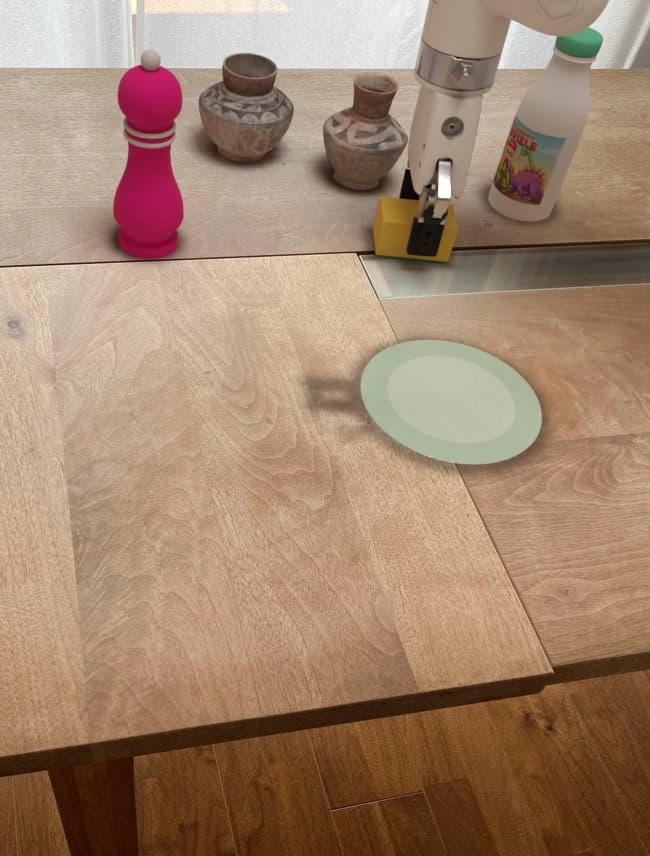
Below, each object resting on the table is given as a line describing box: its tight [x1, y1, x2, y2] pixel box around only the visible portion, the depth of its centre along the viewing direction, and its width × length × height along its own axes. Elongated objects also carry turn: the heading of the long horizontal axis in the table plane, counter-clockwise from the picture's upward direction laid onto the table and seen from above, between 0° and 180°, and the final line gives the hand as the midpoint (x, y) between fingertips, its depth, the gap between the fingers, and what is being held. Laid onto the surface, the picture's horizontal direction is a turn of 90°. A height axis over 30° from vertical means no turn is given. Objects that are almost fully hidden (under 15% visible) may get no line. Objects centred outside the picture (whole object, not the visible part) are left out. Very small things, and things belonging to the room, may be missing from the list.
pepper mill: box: [112, 48, 185, 260], centre depth 87 cm, size 7×7×20 cm
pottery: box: [198, 52, 409, 191], centre depth 104 cm, size 11×25×12 cm, turn 74°
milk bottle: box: [487, 26, 604, 222], centre depth 99 cm, size 8×8×20 cm
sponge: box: [371, 196, 459, 265], centre depth 97 cm, size 8×5×5 cm, turn 88°
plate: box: [360, 339, 543, 465], centre depth 83 cm, size 17×17×1 cm
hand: (416, 229), depth 96 cm, fingers open, 9 cm apart
